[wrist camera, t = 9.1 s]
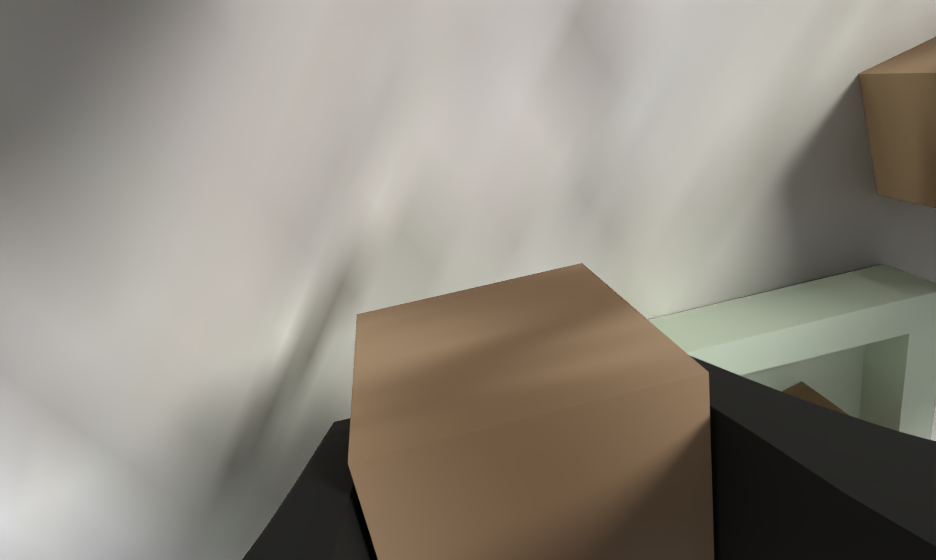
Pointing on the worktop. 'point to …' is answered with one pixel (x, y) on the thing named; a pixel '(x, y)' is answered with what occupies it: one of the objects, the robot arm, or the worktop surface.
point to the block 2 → (903, 124)
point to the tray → (830, 342)
